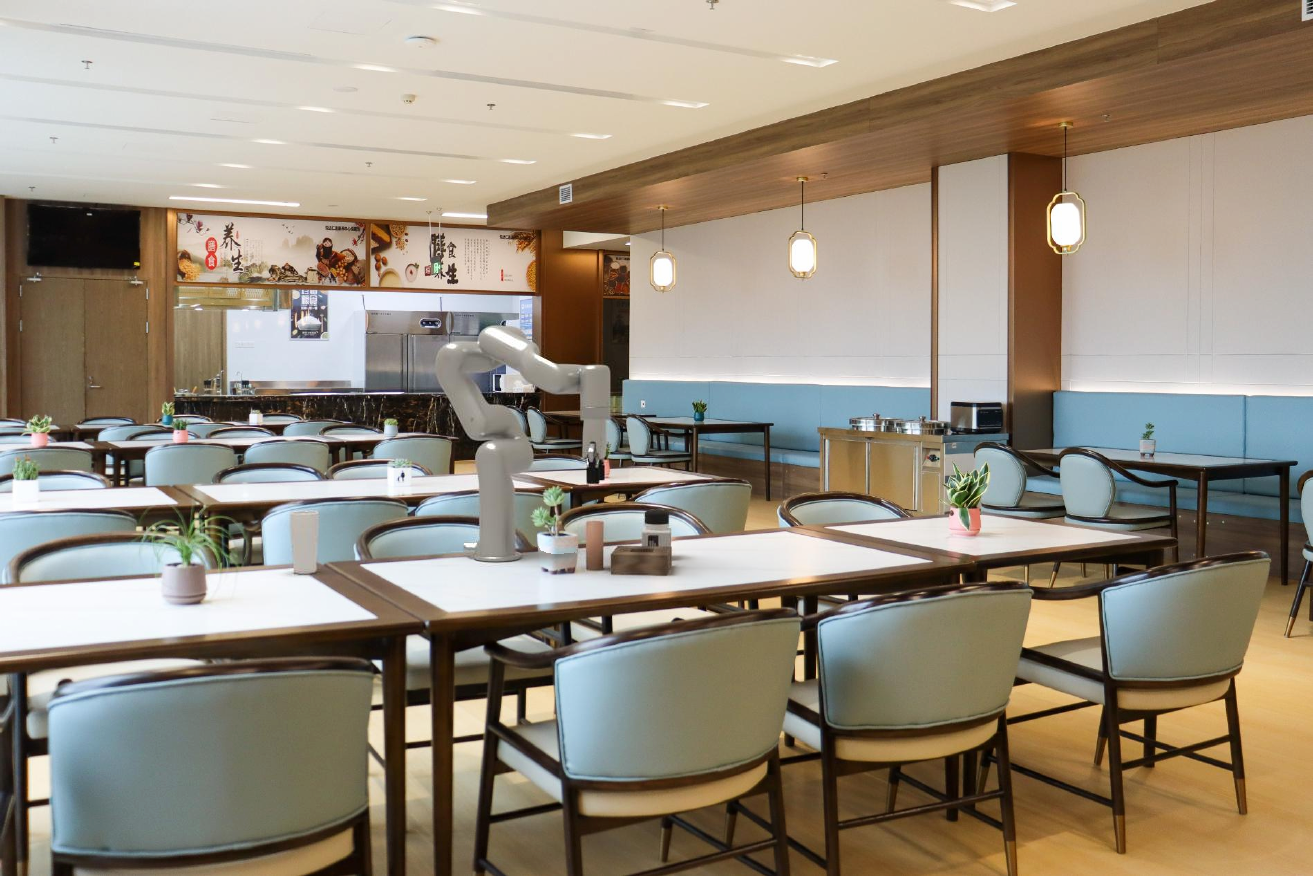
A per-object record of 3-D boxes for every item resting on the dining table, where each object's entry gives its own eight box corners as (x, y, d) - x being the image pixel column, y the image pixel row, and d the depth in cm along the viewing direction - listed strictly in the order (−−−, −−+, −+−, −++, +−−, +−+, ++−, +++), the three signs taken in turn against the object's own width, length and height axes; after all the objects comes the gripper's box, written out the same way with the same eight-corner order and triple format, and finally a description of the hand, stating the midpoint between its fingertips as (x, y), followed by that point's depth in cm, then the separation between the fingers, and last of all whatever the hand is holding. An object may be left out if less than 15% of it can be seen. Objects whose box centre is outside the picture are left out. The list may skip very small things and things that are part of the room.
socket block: (610, 574, 286) (610, 554, 286) (617, 564, 300) (617, 545, 300) (667, 575, 285) (667, 555, 285) (671, 566, 299) (671, 546, 299)
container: (670, 560, 307) (671, 511, 306) (641, 560, 307) (641, 511, 307) (671, 556, 315) (671, 508, 314) (642, 555, 315) (642, 508, 314)
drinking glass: (311, 575, 282) (310, 514, 281) (285, 574, 283) (284, 513, 282) (324, 571, 288) (323, 511, 288) (299, 569, 290) (298, 510, 289)
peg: (584, 570, 292) (584, 523, 291) (587, 567, 296) (587, 520, 295) (602, 570, 291) (602, 523, 290) (604, 567, 296) (604, 521, 295)
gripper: (585, 413, 300) (586, 479, 301) (575, 415, 283) (575, 485, 284) (614, 413, 299) (614, 479, 300) (605, 415, 282) (606, 485, 283)
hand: (595, 482), depth 292 cm, fingers open, 9 cm apart
